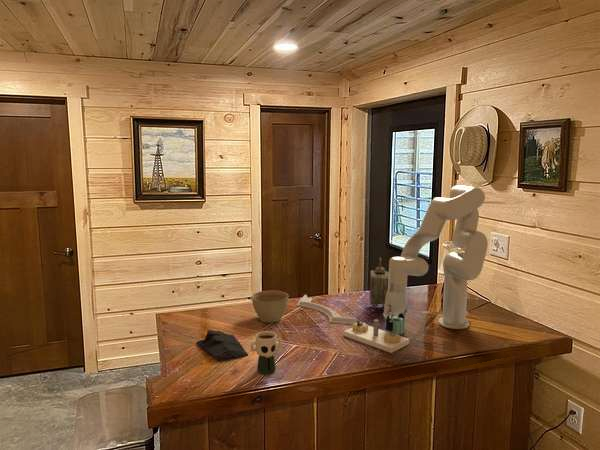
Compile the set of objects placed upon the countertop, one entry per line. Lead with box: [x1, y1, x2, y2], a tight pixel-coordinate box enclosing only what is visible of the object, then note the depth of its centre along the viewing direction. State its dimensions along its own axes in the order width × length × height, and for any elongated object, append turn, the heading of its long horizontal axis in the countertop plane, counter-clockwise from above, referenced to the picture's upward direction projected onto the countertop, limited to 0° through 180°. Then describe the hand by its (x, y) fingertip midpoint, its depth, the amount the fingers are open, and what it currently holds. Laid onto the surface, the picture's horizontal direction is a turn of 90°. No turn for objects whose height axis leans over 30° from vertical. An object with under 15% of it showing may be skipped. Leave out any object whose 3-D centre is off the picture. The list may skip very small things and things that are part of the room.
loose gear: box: [385, 315, 406, 335], centre depth 196 cm, size 8×8×5 cm
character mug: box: [250, 330, 282, 375], centre depth 160 cm, size 11×7×13 cm, turn 112°
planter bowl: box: [251, 290, 289, 324], centre depth 209 cm, size 16×16×11 cm
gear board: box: [343, 319, 410, 354], centre depth 187 cm, size 12×23×8 cm, turn 45°
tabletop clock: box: [369, 256, 389, 313], centre depth 222 cm, size 14×9×25 cm, turn 172°
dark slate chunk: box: [196, 329, 249, 361], centre depth 179 cm, size 15×22×5 cm
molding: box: [296, 294, 358, 326], centre depth 220 cm, size 42×12×3 cm, turn 34°
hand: (394, 327), depth 197 cm, fingers closed on loose gear, 7 cm apart
